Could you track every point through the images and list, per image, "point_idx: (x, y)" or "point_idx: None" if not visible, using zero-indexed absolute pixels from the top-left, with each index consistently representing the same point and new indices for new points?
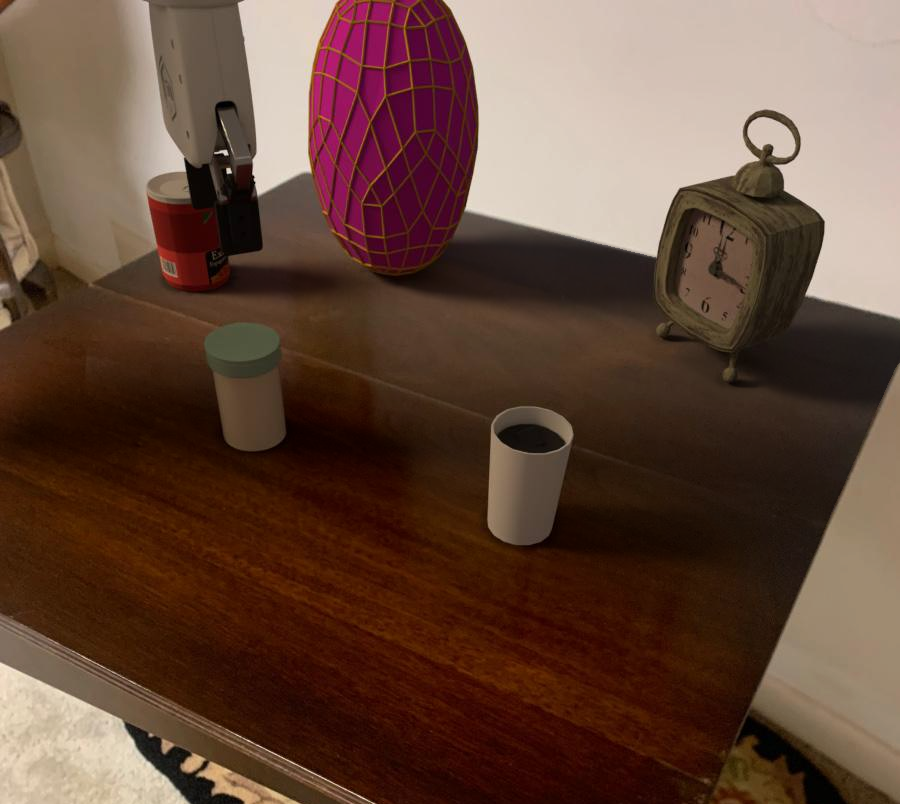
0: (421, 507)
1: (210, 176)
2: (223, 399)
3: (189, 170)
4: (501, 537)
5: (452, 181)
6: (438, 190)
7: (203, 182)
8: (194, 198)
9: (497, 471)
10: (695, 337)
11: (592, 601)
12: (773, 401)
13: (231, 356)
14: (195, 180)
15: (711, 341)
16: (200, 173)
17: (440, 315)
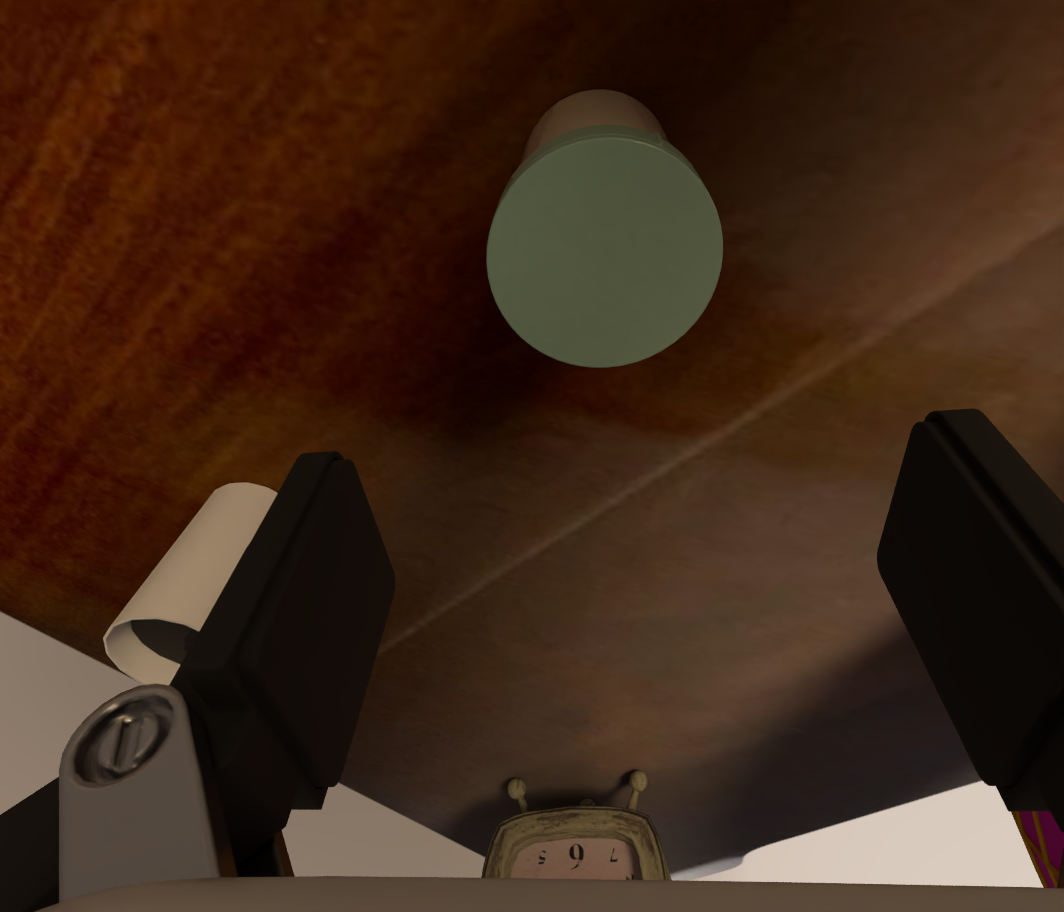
0: (300, 414)
1: (967, 635)
2: (553, 131)
3: (1044, 590)
4: (216, 491)
5: (1026, 845)
6: (1028, 813)
7: (968, 575)
8: (943, 457)
9: (165, 570)
10: (561, 808)
11: (103, 537)
12: (469, 790)
13: (521, 217)
14: (991, 555)
15: (534, 818)
16: (999, 617)
17: (852, 594)
